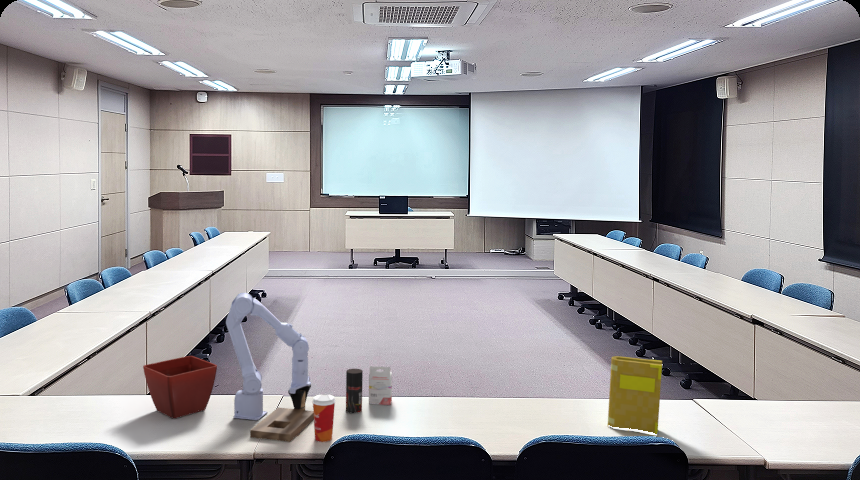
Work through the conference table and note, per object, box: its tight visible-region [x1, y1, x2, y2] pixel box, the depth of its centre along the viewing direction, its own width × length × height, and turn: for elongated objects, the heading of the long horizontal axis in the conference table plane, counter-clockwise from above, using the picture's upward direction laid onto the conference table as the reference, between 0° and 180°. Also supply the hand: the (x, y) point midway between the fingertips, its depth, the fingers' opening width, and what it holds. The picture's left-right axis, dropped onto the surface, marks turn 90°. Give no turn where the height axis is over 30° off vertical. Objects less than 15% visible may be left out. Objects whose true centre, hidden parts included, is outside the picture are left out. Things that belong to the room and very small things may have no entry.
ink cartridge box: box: [368, 365, 393, 406], centre depth 257 cm, size 9×5×15 cm, turn 87°
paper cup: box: [311, 394, 337, 443], centre depth 221 cm, size 8×8×14 cm
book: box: [607, 355, 663, 434], centre depth 237 cm, size 17×7×25 cm, turn 71°
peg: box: [298, 390, 306, 410], centre depth 244 cm, size 4×4×8 cm
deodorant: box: [345, 368, 364, 414], centre depth 248 cm, size 6×6×15 cm
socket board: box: [249, 407, 314, 443], centre depth 230 cm, size 14×22×2 cm, turn 169°
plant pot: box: [142, 355, 218, 419], centre depth 243 cm, size 19×19×17 cm
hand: (299, 406), depth 244 cm, fingers closed on peg, 4 cm apart
